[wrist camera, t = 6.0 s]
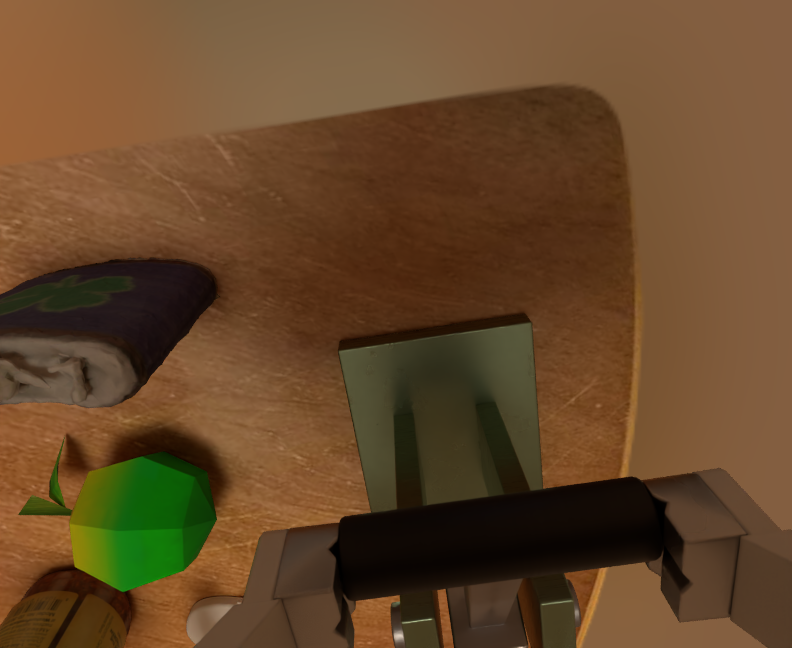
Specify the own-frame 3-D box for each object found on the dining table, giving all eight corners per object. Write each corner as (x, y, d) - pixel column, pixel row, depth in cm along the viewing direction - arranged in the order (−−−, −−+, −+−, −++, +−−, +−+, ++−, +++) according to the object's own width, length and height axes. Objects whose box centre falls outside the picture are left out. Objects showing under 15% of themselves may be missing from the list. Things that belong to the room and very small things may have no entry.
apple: (186, 592, 22) (-49, 584, 22) (217, 597, 28) (31, 591, 27) (217, 421, 26) (15, 411, 25) (240, 456, 31) (75, 449, 30)
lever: (333, 481, 10) (340, 627, 9) (632, 438, 10) (685, 581, 9) (401, 592, 20) (408, 670, 19) (552, 572, 20) (570, 649, 18)
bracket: (339, 340, 26) (303, 527, 14) (525, 312, 26) (647, 479, 14) (379, 537, 31) (377, 806, 19) (540, 515, 30) (643, 774, 18)
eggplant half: (29, 329, 26) (-193, 462, 16) (9, 268, 25) (-243, 370, 15) (225, 312, 26) (126, 434, 16) (213, 250, 25) (99, 340, 15)
